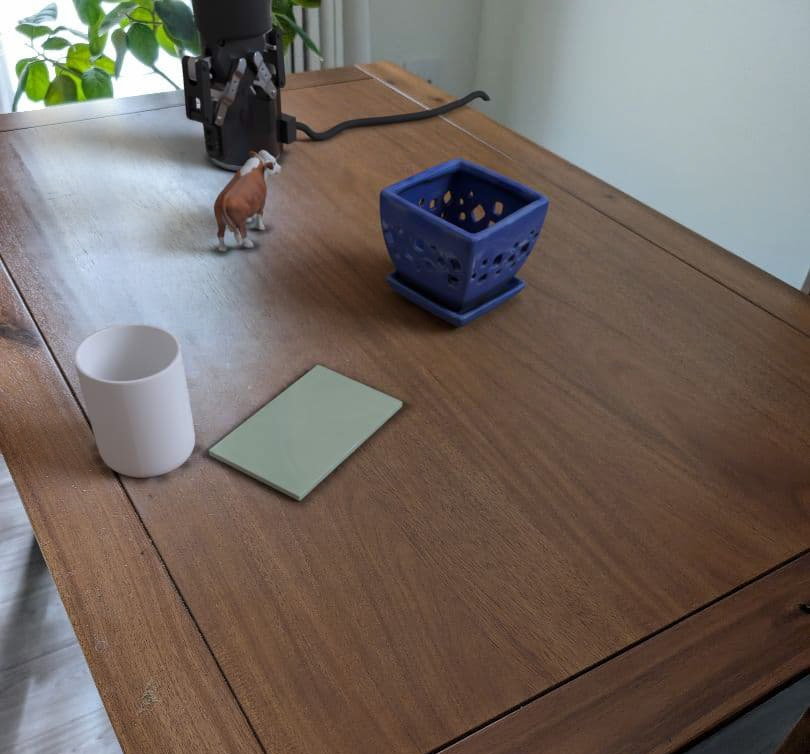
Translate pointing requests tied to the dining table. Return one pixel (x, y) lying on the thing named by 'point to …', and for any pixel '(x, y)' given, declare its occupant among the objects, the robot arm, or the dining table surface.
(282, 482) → the tile
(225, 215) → the bull figurine
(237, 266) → the dining table surface
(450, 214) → the flower pot
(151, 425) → the cup
